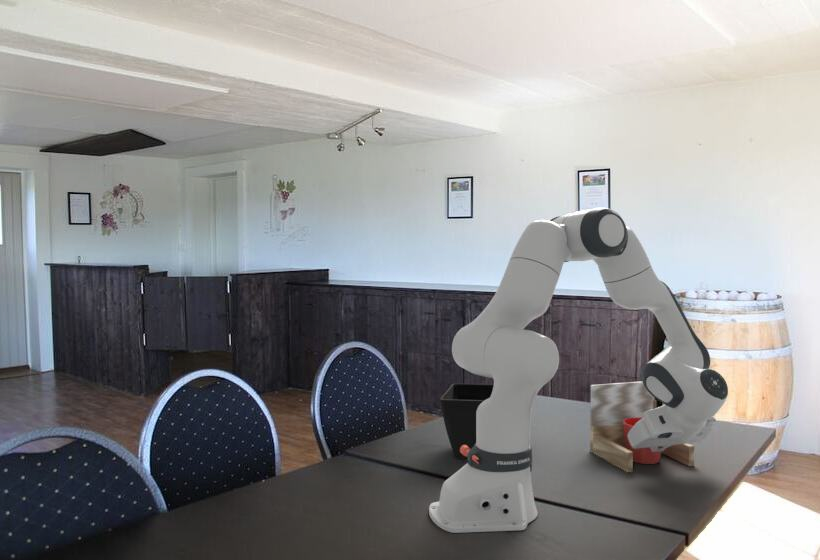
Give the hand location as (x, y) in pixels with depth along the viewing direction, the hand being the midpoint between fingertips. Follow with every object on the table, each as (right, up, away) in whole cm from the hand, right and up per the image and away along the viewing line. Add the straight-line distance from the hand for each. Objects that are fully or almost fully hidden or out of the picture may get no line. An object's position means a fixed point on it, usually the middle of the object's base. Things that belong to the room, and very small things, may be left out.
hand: (655, 449), depth 171 cm
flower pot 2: (-1, -4, +5) cm, 7 cm away
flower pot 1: (-42, -4, +11) cm, 44 cm away
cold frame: (-2, -4, +6) cm, 7 cm away
